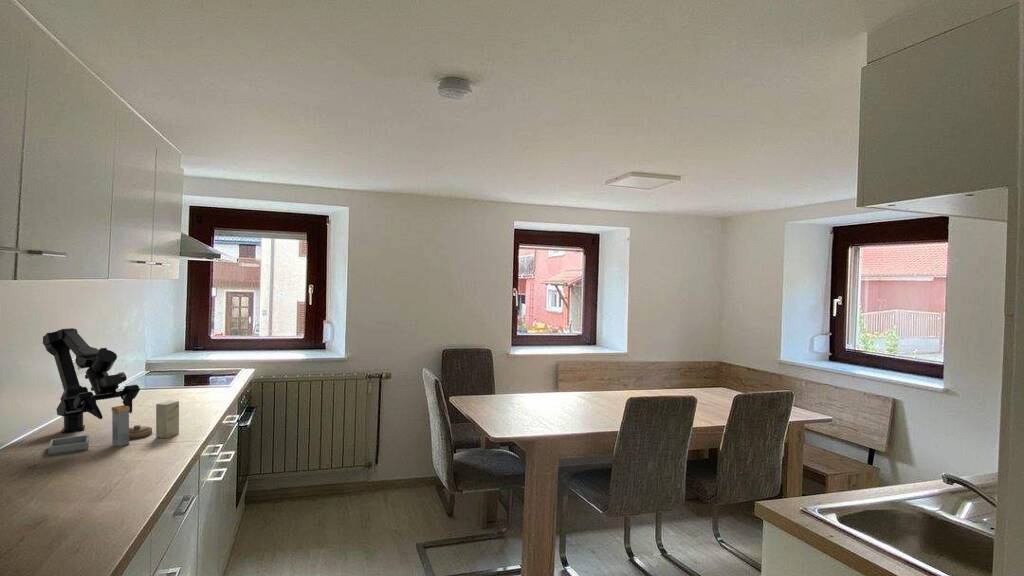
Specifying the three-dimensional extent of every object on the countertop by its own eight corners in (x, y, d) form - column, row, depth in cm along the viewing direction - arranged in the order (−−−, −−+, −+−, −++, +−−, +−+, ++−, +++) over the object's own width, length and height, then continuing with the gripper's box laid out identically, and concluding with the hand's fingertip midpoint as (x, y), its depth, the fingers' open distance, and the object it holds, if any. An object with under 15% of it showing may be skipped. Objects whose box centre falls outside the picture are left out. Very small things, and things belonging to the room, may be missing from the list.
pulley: (121, 434, 202) (121, 424, 202) (151, 430, 208) (151, 421, 208) (122, 440, 195) (122, 430, 195) (152, 436, 200) (152, 426, 200)
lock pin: (111, 445, 190) (111, 407, 189) (123, 442, 193) (123, 405, 193) (117, 447, 188) (117, 408, 187) (129, 444, 191) (129, 406, 191)
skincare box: (165, 438, 198) (165, 404, 198) (155, 437, 199) (155, 404, 199) (179, 433, 204) (179, 400, 204) (169, 432, 205) (169, 400, 205)
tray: (51, 446, 187) (51, 439, 187) (89, 441, 193) (89, 434, 193) (48, 455, 179) (48, 447, 179) (88, 449, 185) (88, 442, 185)
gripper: (77, 369, 185) (94, 406, 180) (137, 362, 202) (154, 396, 197) (65, 390, 189) (82, 427, 184) (125, 381, 206) (142, 415, 201)
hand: (116, 415), depth 191 cm, fingers open, 9 cm apart
